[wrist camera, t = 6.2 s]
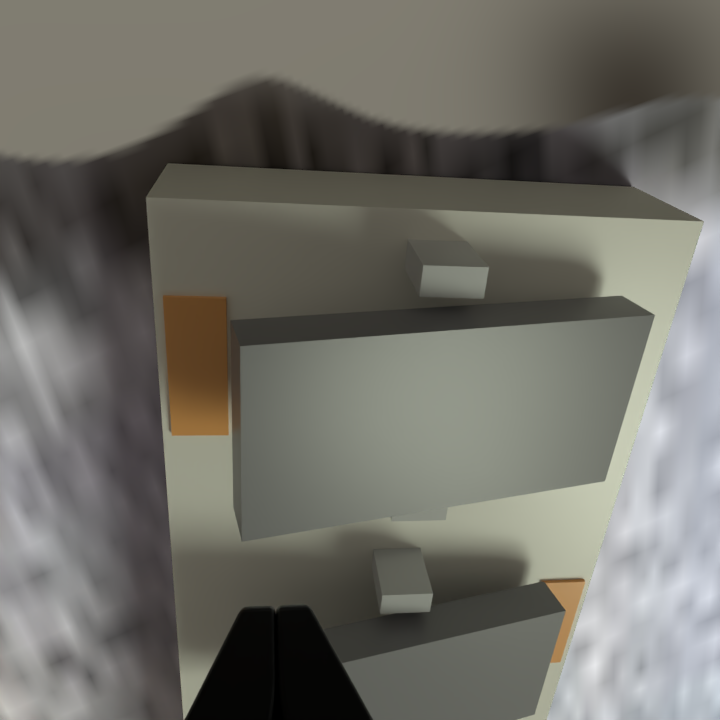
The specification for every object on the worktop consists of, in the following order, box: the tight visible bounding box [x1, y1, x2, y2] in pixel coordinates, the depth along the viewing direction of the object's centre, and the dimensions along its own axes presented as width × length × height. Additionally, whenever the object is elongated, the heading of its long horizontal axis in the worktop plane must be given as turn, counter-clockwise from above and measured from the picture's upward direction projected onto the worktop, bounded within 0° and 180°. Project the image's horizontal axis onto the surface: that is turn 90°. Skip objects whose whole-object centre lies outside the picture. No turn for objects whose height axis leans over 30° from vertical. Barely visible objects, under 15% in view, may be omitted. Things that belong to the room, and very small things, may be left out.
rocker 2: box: [323, 581, 566, 720], centre depth 17 cm, size 8×4×1 cm, turn 85°
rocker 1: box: [230, 296, 655, 542], centre depth 13 cm, size 8×4×1 cm, turn 85°
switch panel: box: [146, 163, 704, 720], centre depth 19 cm, size 11×23×4 cm, turn 176°
